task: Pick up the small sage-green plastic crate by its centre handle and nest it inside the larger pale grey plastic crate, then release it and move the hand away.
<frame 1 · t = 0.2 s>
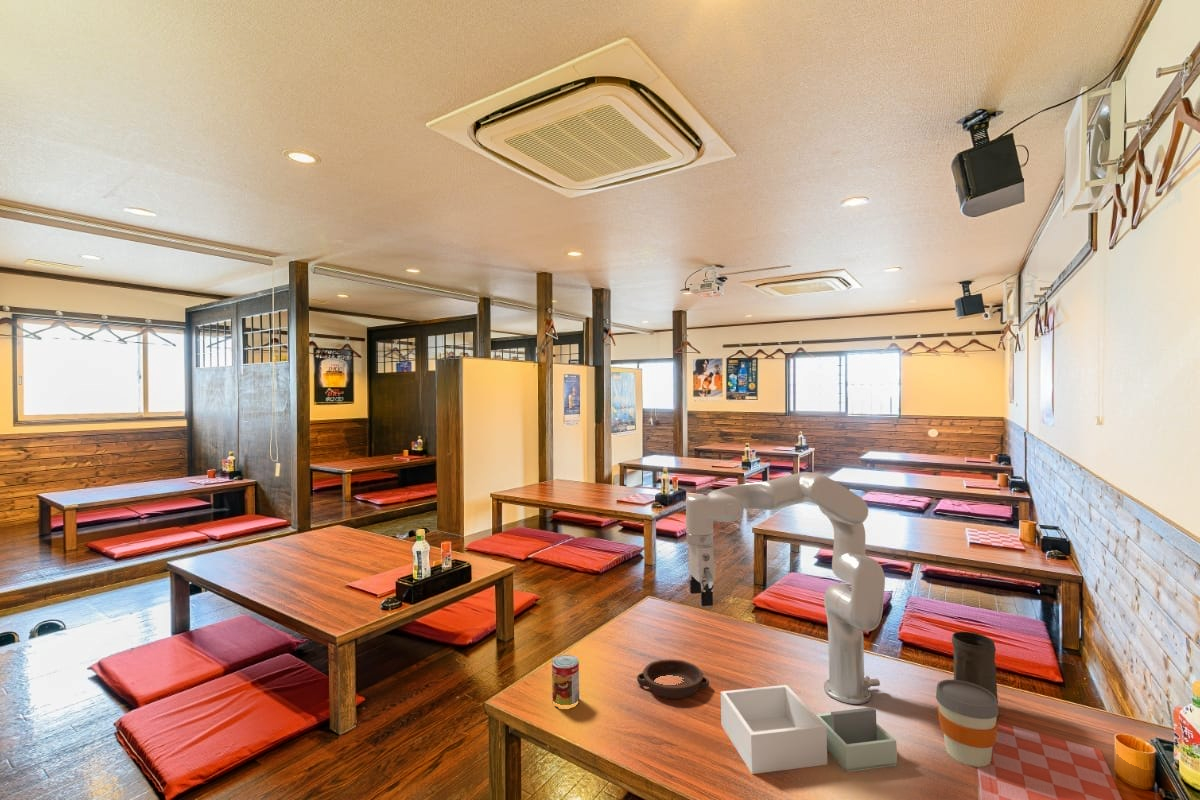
hand: (701, 599, 148), 31 cm above the table, tool pointing down, fingers open, 9 cm apart
dish: (672, 689, 159), on the table
small crate: (854, 751, 129), on the table
canned food: (565, 702, 152), on the table
beer stein: (973, 712, 144), on the table
reusable coffee cup: (967, 755, 127), on the table
big crate: (771, 743, 132), on the table
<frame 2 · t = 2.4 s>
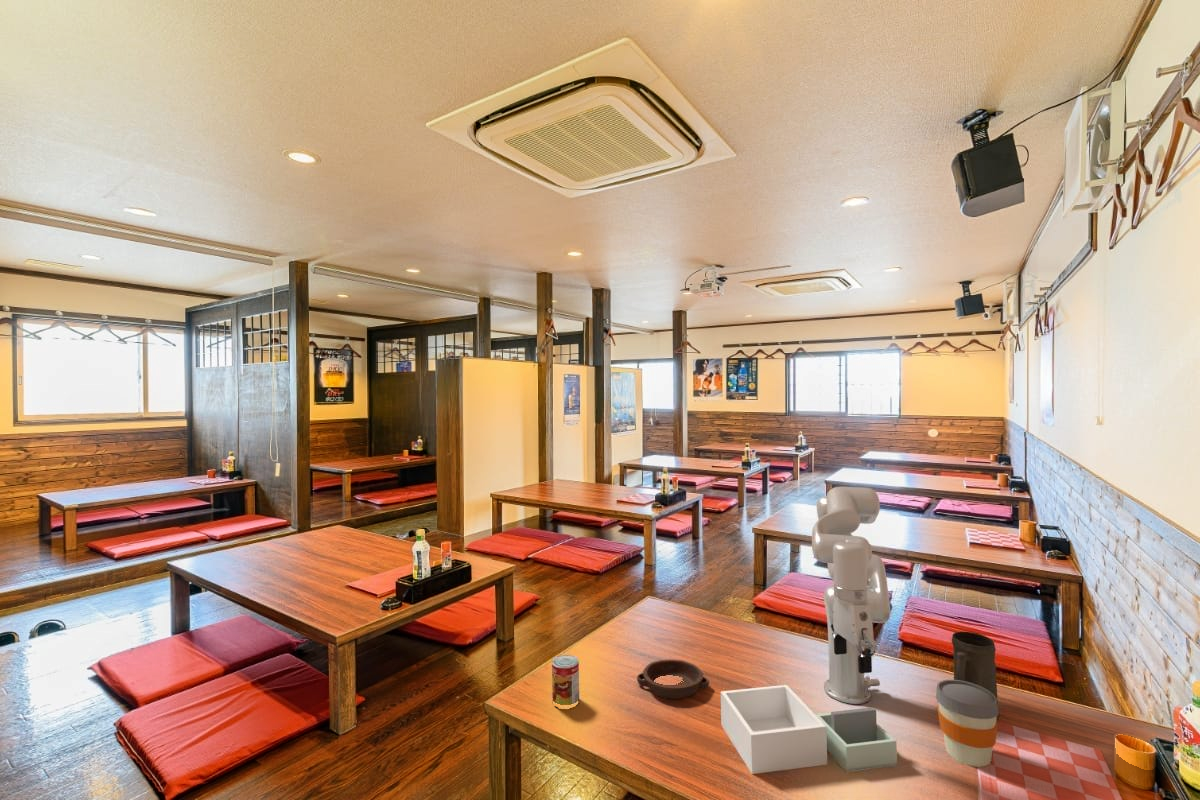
hand: (852, 662, 129), 22 cm above the table, tool pointing down, fingers open, 9 cm apart
nothing on the table moved.
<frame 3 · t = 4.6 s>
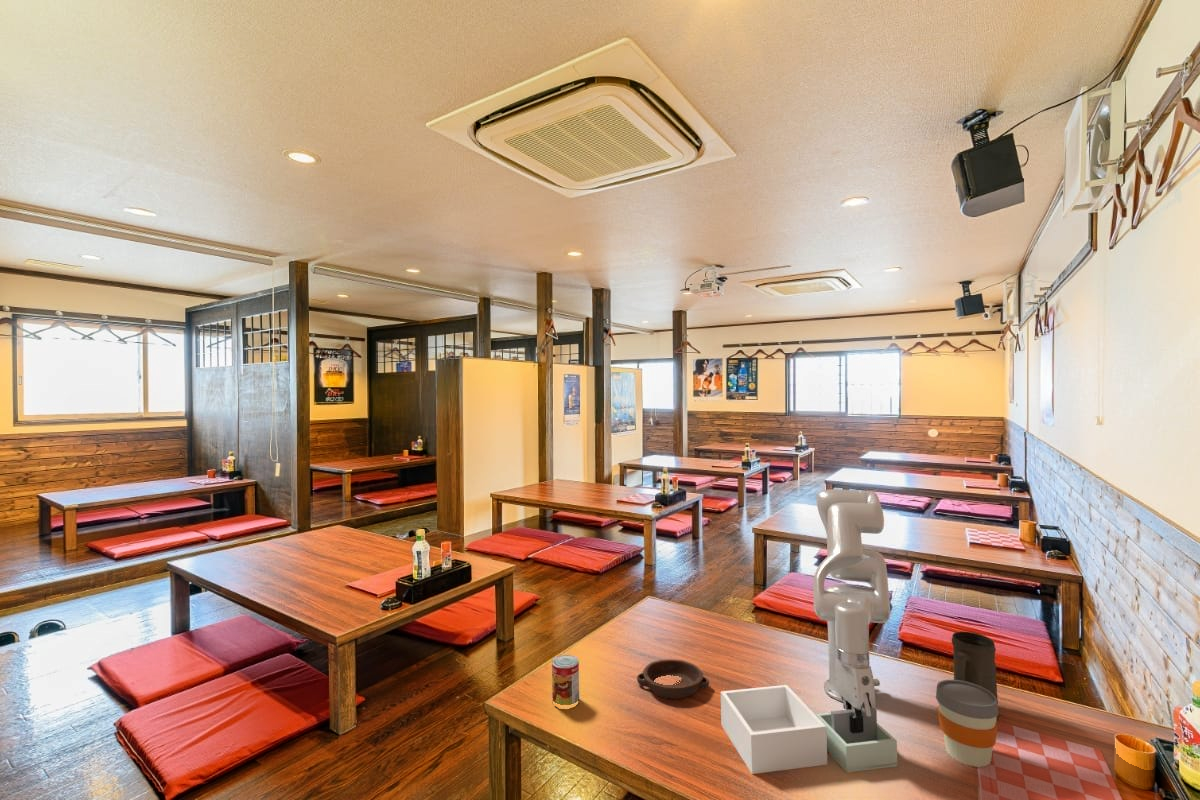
hand: (854, 729, 129), 5 cm above the table, tool pointing down, fingers closed on small crate
small crate: (854, 751, 128), on the table, touching gripper
everything else where it was.
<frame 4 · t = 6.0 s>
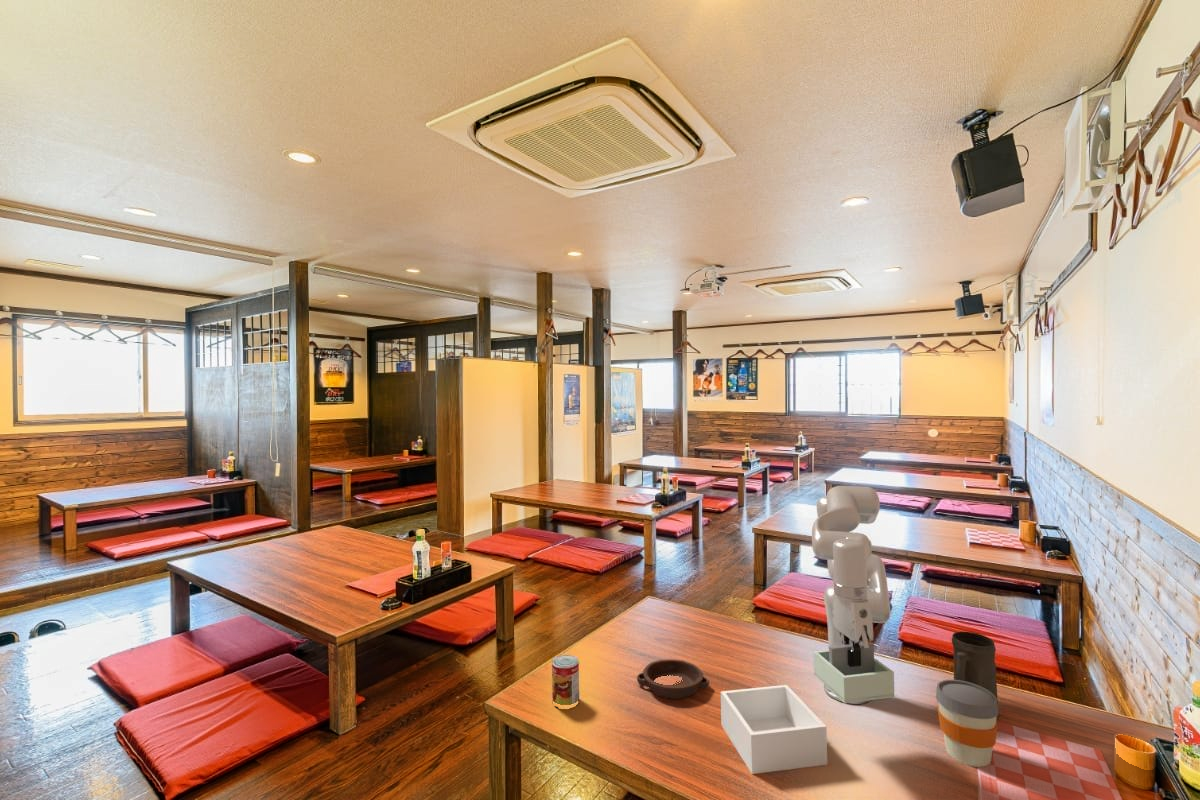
hand: (852, 663, 129), 21 cm above the table, tool pointing down, fingers closed on small crate
small crate: (852, 685, 129), point 16 cm above the table, touching gripper
everything else where it was.
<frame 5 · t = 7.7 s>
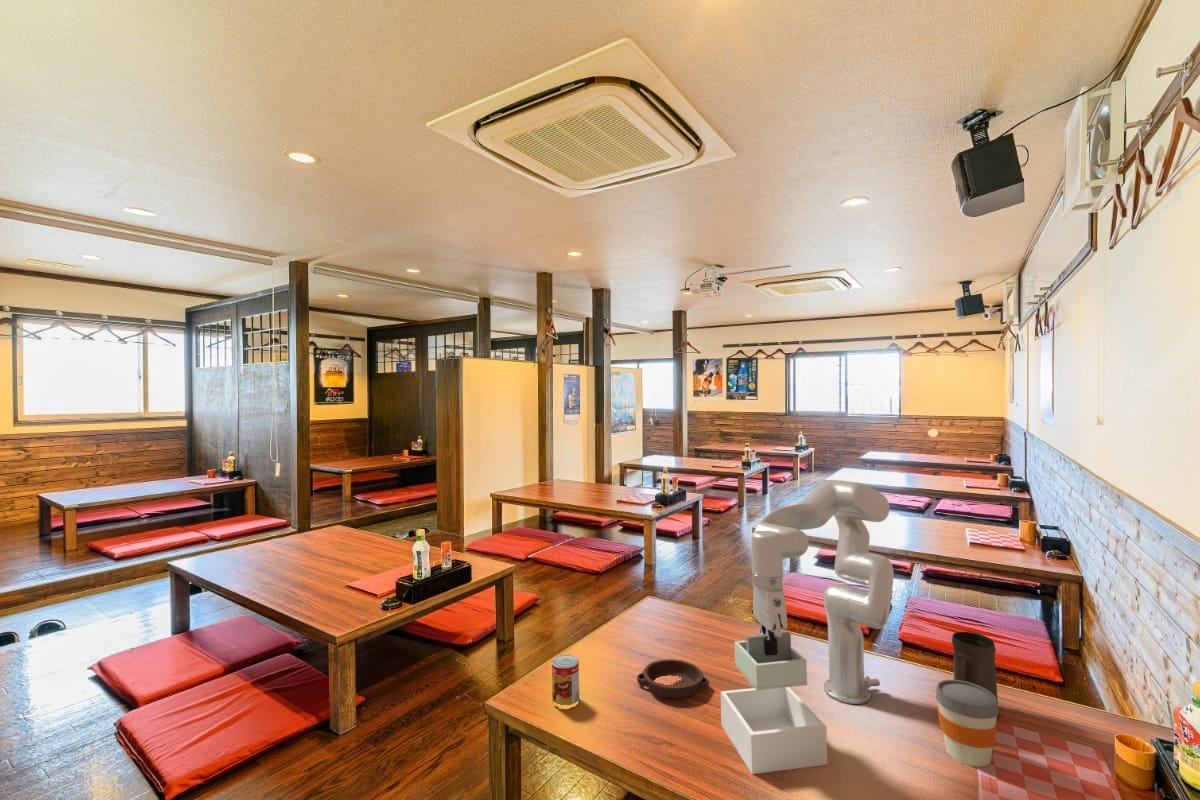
hand: (769, 652, 132), 23 cm above the table, tool pointing down, fingers closed on small crate
small crate: (769, 674, 132), point 17 cm above the table, touching gripper
everything else where it was.
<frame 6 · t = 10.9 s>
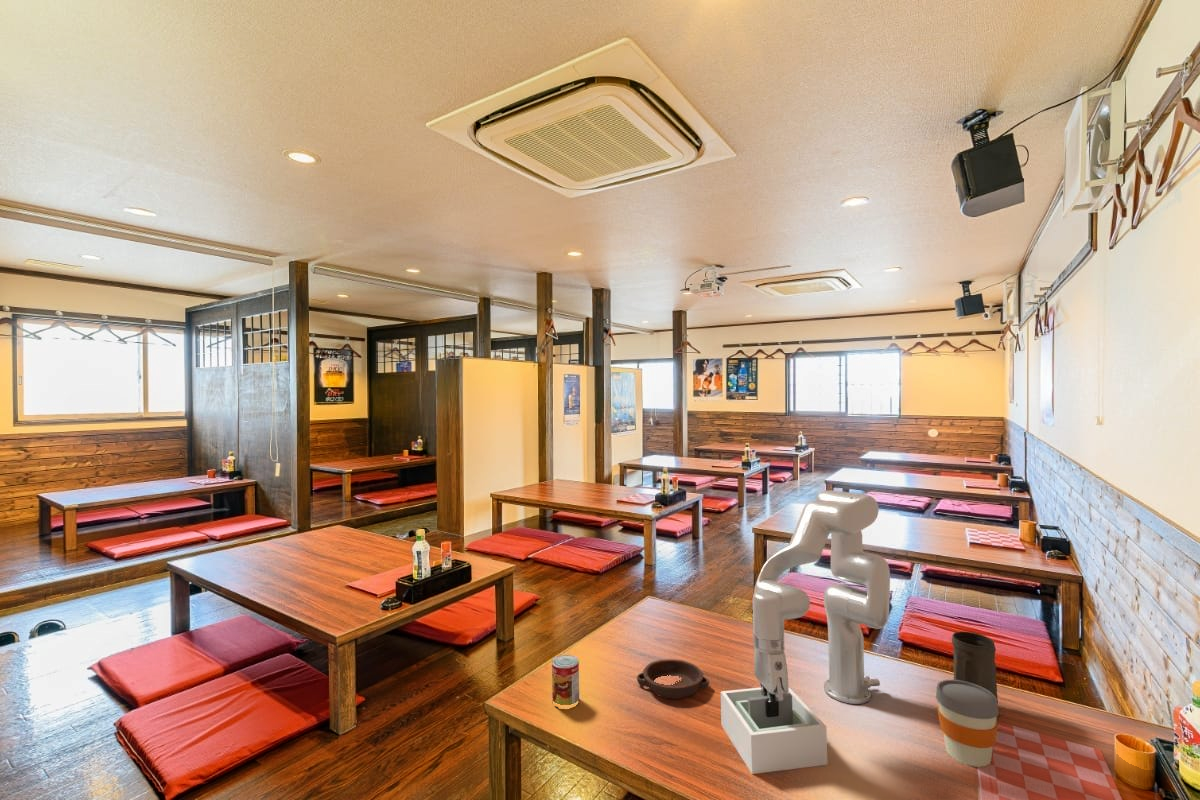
hand: (770, 713, 132), 8 cm above the table, tool pointing down, fingers closed on small crate
small crate: (771, 736, 132), point 2 cm above the table, touching gripper
everything else where it was.
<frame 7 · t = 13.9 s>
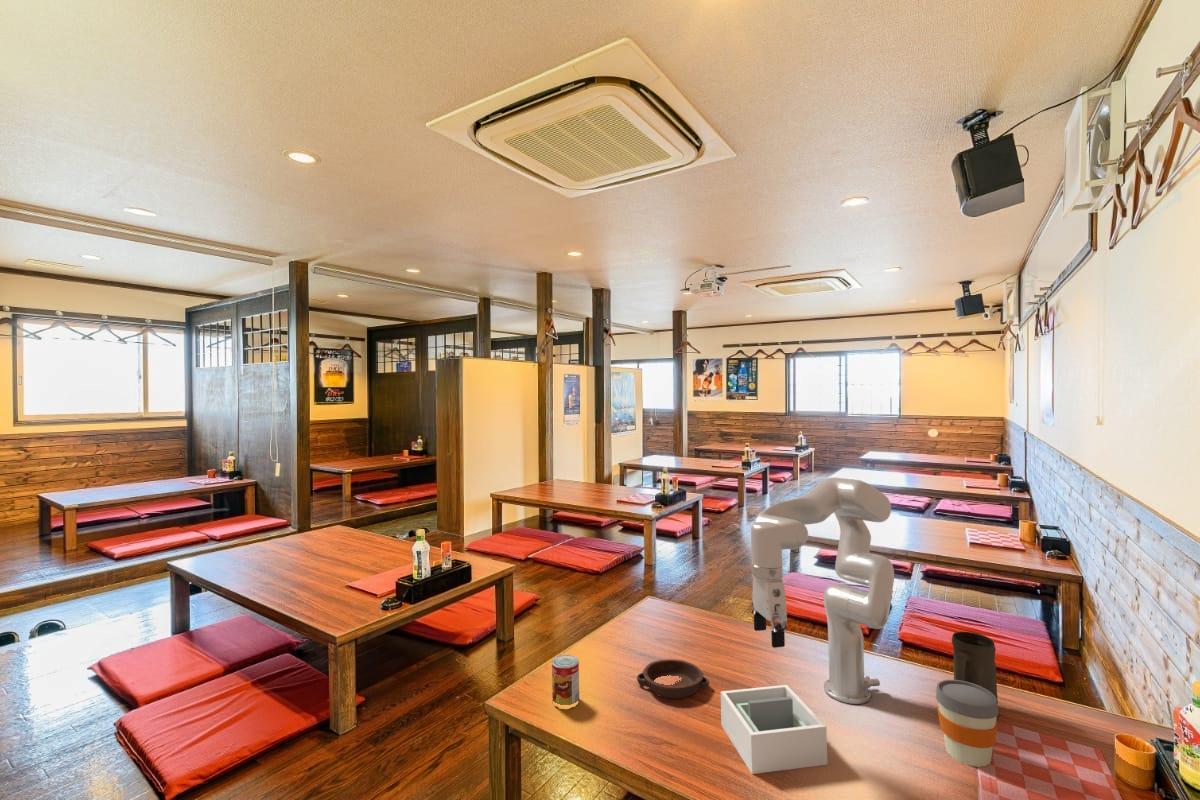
hand: (768, 638, 133), 26 cm above the table, tool pointing down, fingers open, 9 cm apart
small crate: (771, 739, 132), point 1 cm above the table, touching big crate
everything else where it was.
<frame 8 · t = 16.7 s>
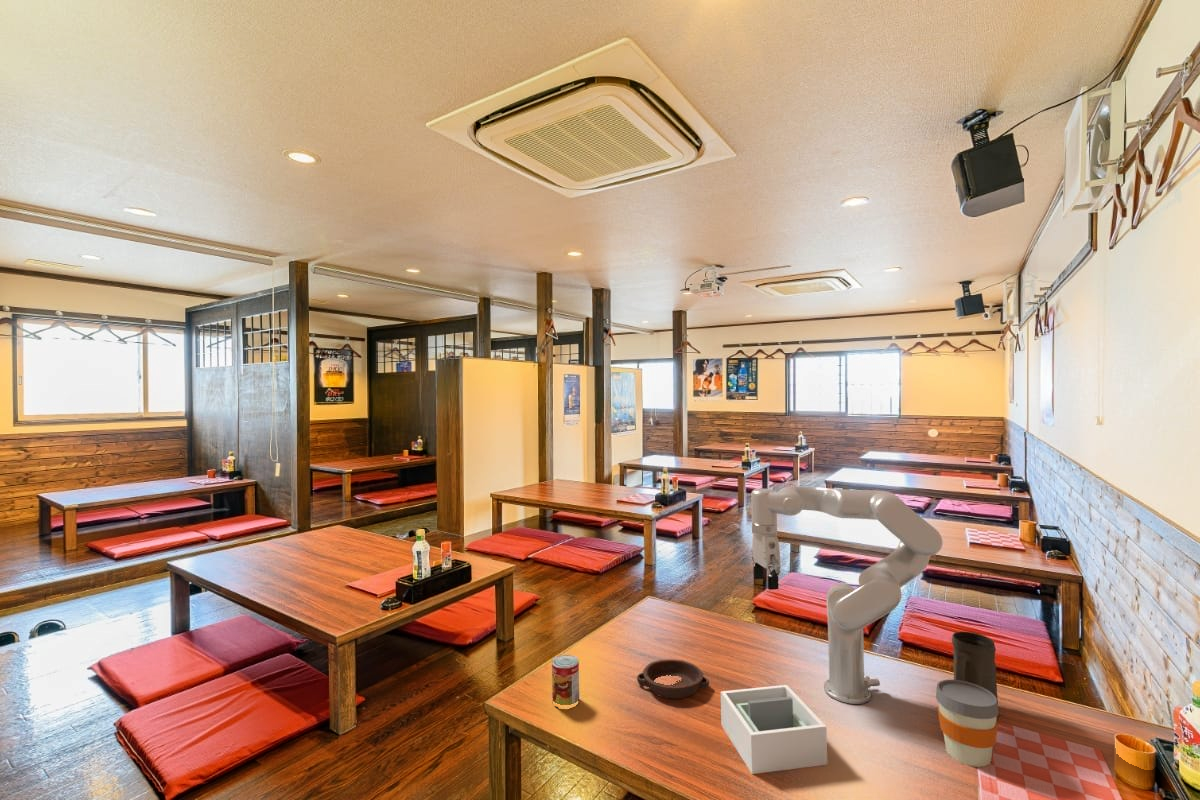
hand: (765, 583, 162), 30 cm above the table, tool pointing down, fingers open, 9 cm apart
nothing on the table moved.
at the end: small crate 0.1 cm off-centre on the big crate, point 1.0 cm above the big crate's base; small crate tilted 0°; the gripper is holding nothing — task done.
